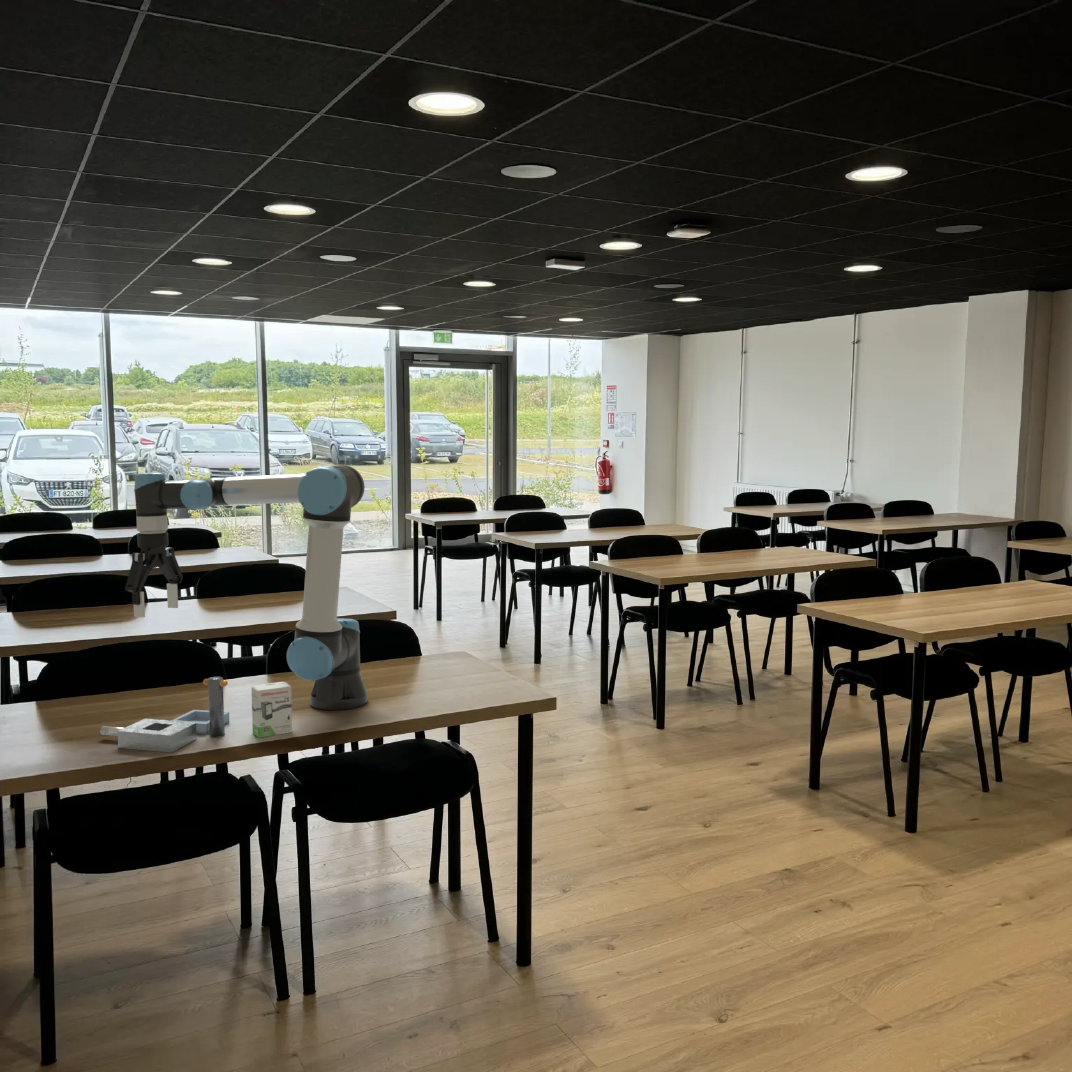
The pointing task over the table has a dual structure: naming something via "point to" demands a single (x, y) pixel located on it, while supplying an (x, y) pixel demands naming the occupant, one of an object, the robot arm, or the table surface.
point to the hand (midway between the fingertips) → (156, 612)
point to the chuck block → (153, 735)
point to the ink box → (271, 709)
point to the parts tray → (200, 720)
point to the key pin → (216, 705)
